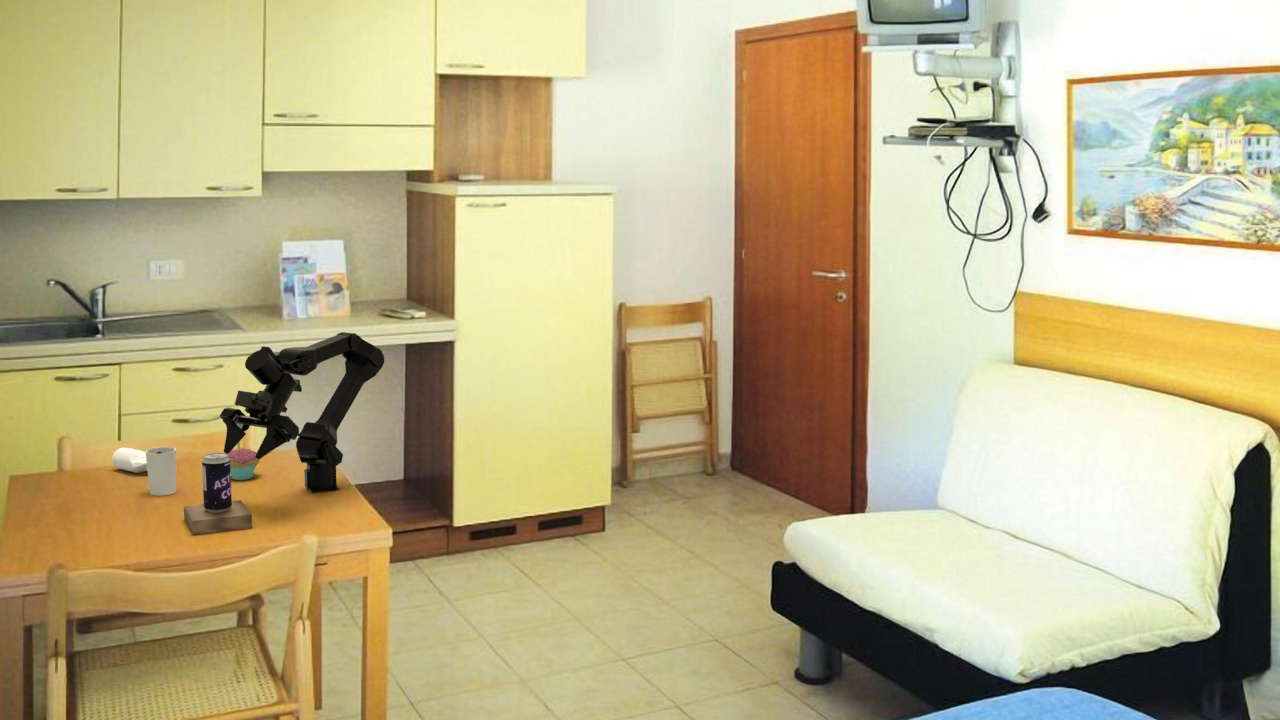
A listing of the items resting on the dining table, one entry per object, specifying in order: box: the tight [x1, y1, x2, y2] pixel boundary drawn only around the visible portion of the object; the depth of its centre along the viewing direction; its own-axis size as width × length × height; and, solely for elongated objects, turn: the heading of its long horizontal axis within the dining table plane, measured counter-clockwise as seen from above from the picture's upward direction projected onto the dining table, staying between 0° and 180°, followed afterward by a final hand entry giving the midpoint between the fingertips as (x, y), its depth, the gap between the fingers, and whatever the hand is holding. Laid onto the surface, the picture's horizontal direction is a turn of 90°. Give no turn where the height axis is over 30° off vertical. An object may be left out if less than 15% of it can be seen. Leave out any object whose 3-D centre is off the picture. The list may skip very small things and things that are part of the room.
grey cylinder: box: [145, 446, 177, 497], centre depth 306 cm, size 7×7×10 cm
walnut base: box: [183, 500, 253, 536], centre depth 283 cm, size 12×12×3 cm
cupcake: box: [228, 440, 261, 481], centre depth 320 cm, size 9×8×12 cm
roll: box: [111, 447, 148, 474], centre depth 324 cm, size 6×12×6 cm, turn 54°
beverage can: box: [201, 452, 233, 513], centre depth 282 cm, size 6×6×12 cm
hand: (241, 455), depth 287 cm, fingers open, 9 cm apart
